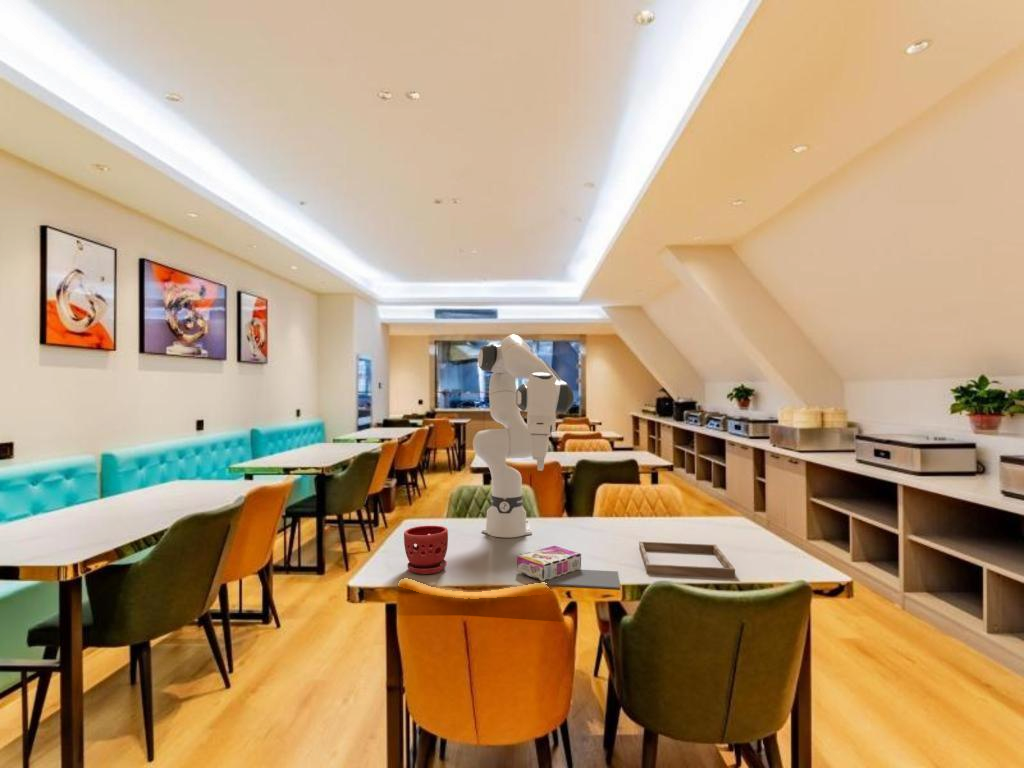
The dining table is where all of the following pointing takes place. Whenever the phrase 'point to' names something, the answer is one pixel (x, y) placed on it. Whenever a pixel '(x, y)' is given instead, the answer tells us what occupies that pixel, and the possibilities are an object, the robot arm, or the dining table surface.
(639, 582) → the dining table surface
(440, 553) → the plant pot
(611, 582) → the mat
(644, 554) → the serving tray rim
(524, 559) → the candy bar box
